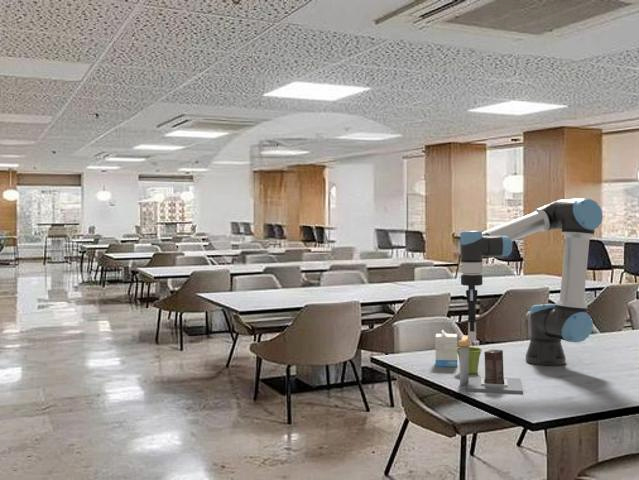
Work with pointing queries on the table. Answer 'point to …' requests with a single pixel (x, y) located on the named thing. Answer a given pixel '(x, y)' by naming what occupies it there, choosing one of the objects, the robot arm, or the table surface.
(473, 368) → the plant pot
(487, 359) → the box
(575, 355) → the table surface
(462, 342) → the clip
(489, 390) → the grey stand
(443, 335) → the milk carton
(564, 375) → the table surface
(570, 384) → the table surface
